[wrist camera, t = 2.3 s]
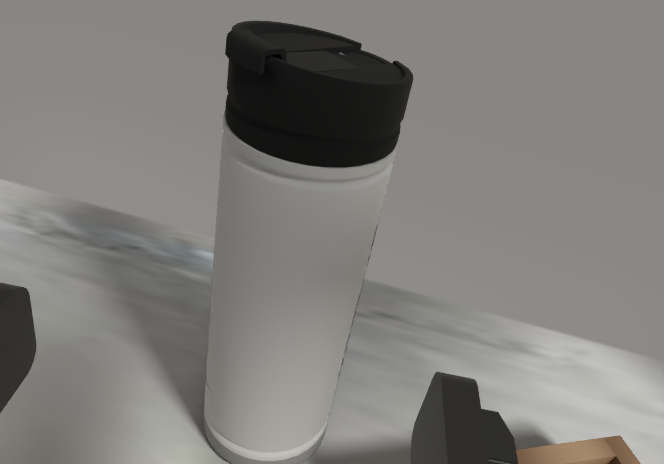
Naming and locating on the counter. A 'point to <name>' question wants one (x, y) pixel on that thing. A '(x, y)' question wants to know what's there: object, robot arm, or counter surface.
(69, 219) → the counter surface
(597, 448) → the walnut caddy
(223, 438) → the travel mug
